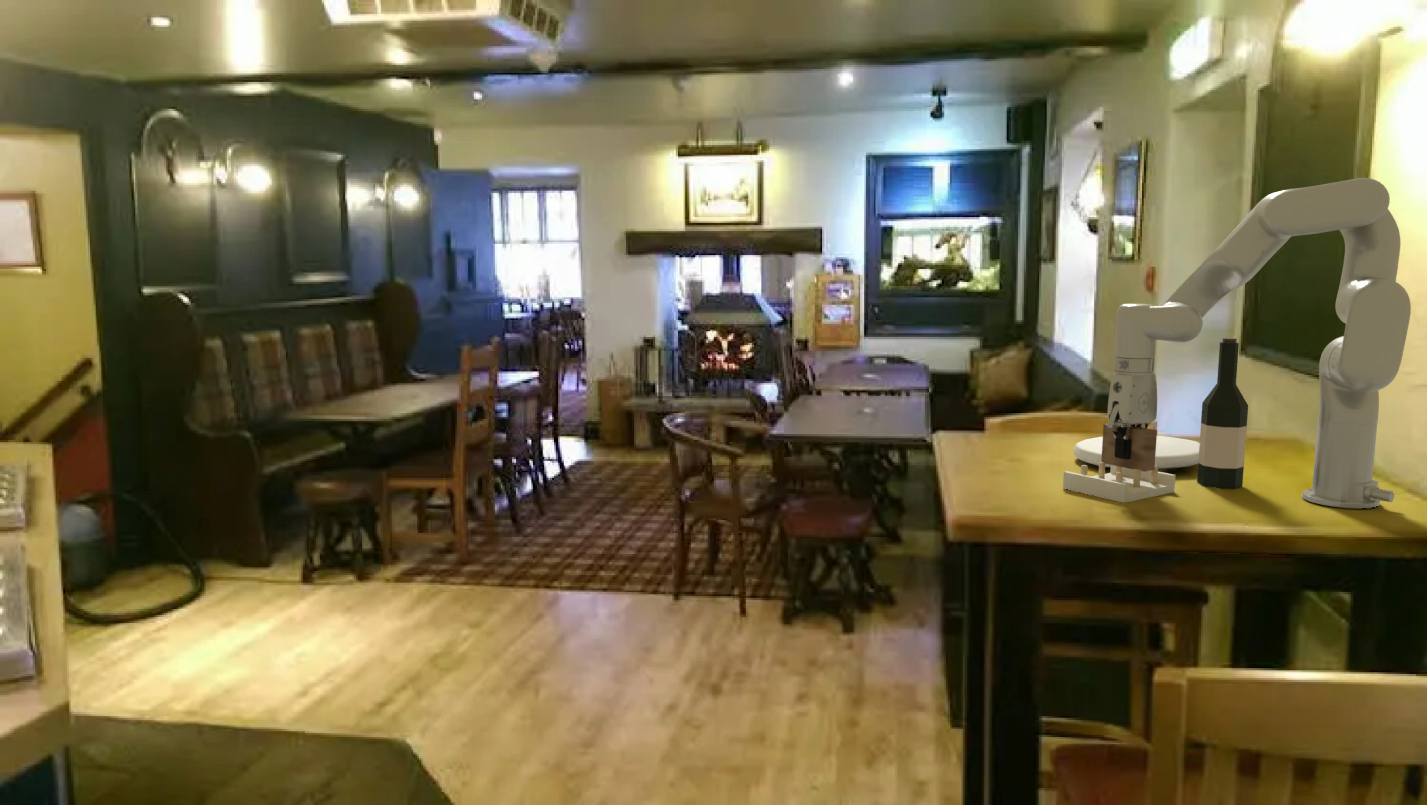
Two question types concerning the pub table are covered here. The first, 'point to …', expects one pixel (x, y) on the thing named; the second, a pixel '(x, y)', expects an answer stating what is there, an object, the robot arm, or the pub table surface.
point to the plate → (1167, 454)
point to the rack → (1120, 483)
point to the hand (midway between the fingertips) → (1128, 456)
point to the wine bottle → (1223, 426)
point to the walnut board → (1140, 449)
